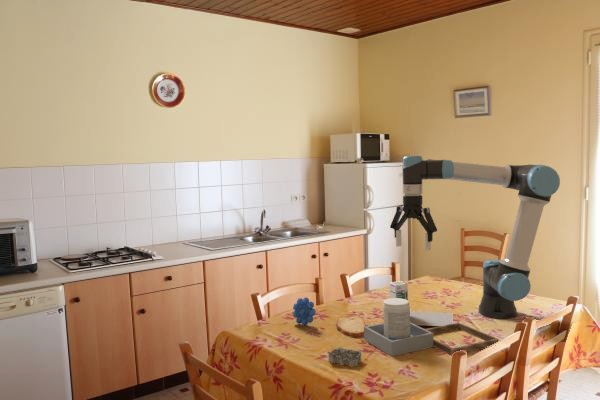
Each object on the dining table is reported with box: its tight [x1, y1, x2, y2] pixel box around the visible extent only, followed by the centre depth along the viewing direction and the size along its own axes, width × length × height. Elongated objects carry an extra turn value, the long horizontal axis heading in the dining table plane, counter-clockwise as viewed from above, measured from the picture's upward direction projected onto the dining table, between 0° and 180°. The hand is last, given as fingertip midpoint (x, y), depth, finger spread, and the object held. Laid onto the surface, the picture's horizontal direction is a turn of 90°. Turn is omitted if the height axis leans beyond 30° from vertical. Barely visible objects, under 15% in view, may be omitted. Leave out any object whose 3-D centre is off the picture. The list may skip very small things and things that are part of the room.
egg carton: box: [327, 346, 363, 368], centre depth 173 cm, size 11×8×4 cm
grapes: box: [292, 297, 316, 326], centre depth 211 cm, size 12×7×12 cm, turn 51°
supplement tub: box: [382, 297, 411, 341], centre depth 188 cm, size 10×10×15 cm
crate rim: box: [424, 322, 499, 356], centre depth 189 cm, size 21×21×2 cm
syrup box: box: [389, 280, 409, 301], centre depth 219 cm, size 6×6×14 cm
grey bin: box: [363, 321, 434, 357], centre depth 188 cm, size 18×18×5 cm
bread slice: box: [335, 315, 366, 339], centre depth 205 cm, size 18×18×4 cm
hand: (413, 247), depth 204 cm, fingers open, 13 cm apart
